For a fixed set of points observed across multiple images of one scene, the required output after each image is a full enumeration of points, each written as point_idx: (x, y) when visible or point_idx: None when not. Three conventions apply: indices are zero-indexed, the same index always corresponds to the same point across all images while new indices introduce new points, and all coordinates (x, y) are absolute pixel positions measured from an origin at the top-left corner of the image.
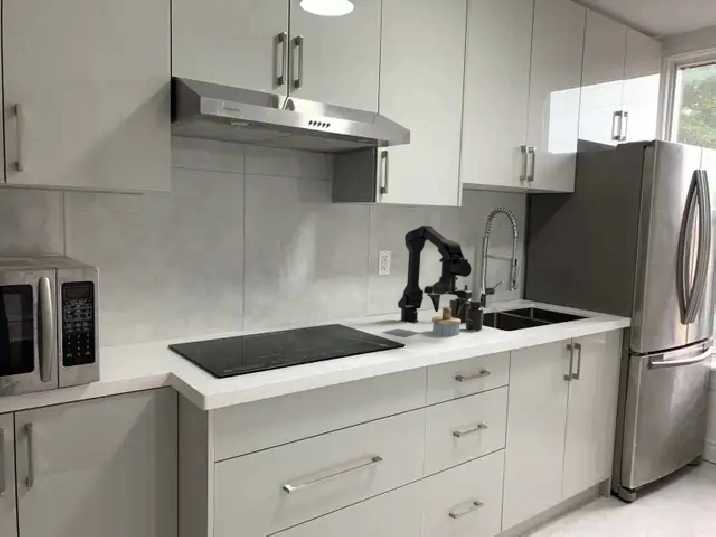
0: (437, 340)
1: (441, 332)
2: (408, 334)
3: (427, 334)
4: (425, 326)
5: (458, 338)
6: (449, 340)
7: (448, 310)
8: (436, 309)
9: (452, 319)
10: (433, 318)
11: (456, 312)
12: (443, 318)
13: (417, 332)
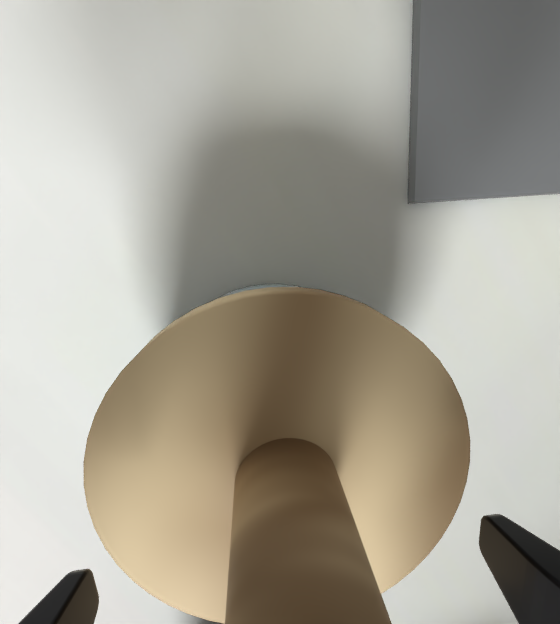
0: (156, 106)
1: (240, 291)
2: (464, 27)
3: (372, 262)
4: (534, 490)
5: (107, 348)
6: (92, 208)
7: (233, 607)
8: (519, 556)
9: (213, 519)
10: (419, 367)
11: (40, 621)
12: (300, 444)
13: (449, 197)
